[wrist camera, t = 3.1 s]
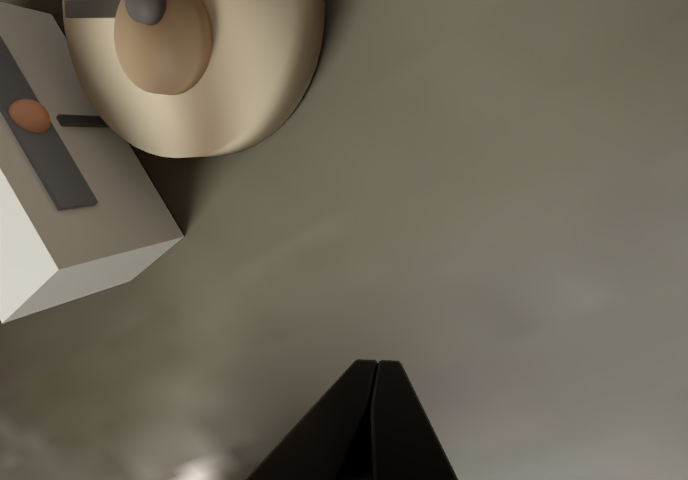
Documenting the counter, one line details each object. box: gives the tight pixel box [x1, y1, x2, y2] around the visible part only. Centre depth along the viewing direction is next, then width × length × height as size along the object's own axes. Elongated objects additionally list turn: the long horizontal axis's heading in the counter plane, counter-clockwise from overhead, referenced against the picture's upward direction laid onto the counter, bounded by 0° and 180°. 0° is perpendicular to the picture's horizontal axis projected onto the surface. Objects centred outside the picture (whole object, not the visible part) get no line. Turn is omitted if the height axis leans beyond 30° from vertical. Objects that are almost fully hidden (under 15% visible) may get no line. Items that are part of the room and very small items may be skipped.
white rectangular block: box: [0, 2, 184, 323], centre depth 23 cm, size 14×6×7 cm, turn 36°
